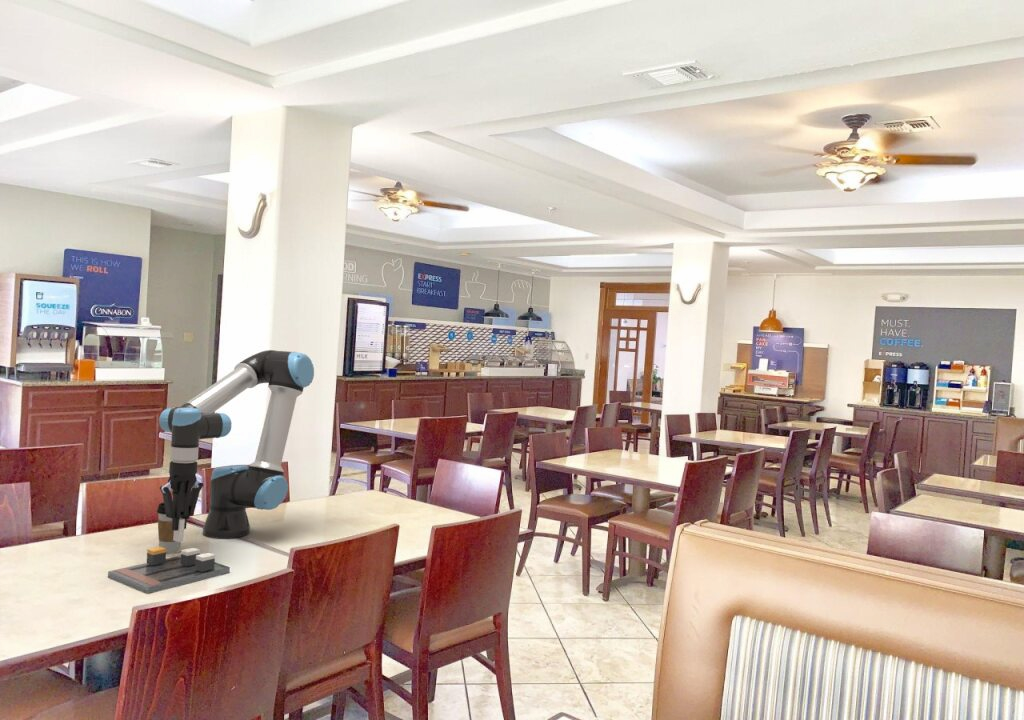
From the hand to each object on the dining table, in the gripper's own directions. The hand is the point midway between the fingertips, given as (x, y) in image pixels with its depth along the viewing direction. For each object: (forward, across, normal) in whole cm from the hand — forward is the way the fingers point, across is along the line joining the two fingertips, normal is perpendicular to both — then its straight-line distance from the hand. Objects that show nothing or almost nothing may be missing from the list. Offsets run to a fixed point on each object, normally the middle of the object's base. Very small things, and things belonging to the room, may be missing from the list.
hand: (178, 540), depth 224 cm
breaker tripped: (+5, +6, 0) cm, 8 cm away
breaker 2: (+5, 0, +14) cm, 15 cm away
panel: (+7, +6, +7) cm, 12 cm away
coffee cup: (+7, -7, -14) cm, 17 cm away
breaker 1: (+5, 0, +7) cm, 9 cm away
